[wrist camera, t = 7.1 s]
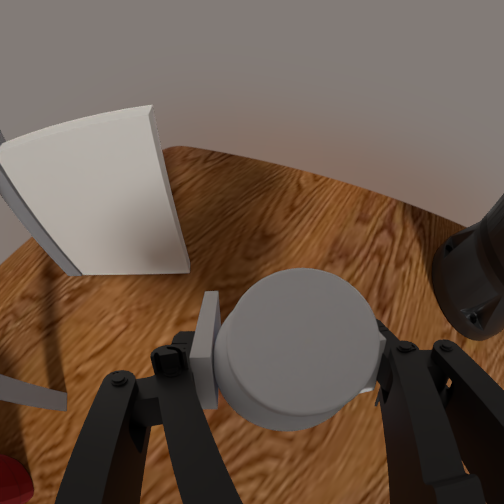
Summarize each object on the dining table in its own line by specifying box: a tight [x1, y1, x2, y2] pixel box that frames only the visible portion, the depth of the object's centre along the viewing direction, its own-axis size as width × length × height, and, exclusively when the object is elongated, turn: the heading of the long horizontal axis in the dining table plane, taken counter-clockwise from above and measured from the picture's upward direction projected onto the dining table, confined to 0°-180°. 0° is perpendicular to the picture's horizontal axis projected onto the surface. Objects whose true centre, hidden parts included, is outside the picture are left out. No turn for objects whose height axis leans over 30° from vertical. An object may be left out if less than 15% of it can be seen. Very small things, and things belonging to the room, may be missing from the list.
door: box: [0, 105, 190, 275], centre depth 21 cm, size 13×2×18 cm, turn 94°
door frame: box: [0, 131, 82, 411], centre depth 15 cm, size 2×18×22 cm, turn 4°
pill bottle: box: [213, 268, 380, 431], centre depth 12 cm, size 6×6×11 cm
